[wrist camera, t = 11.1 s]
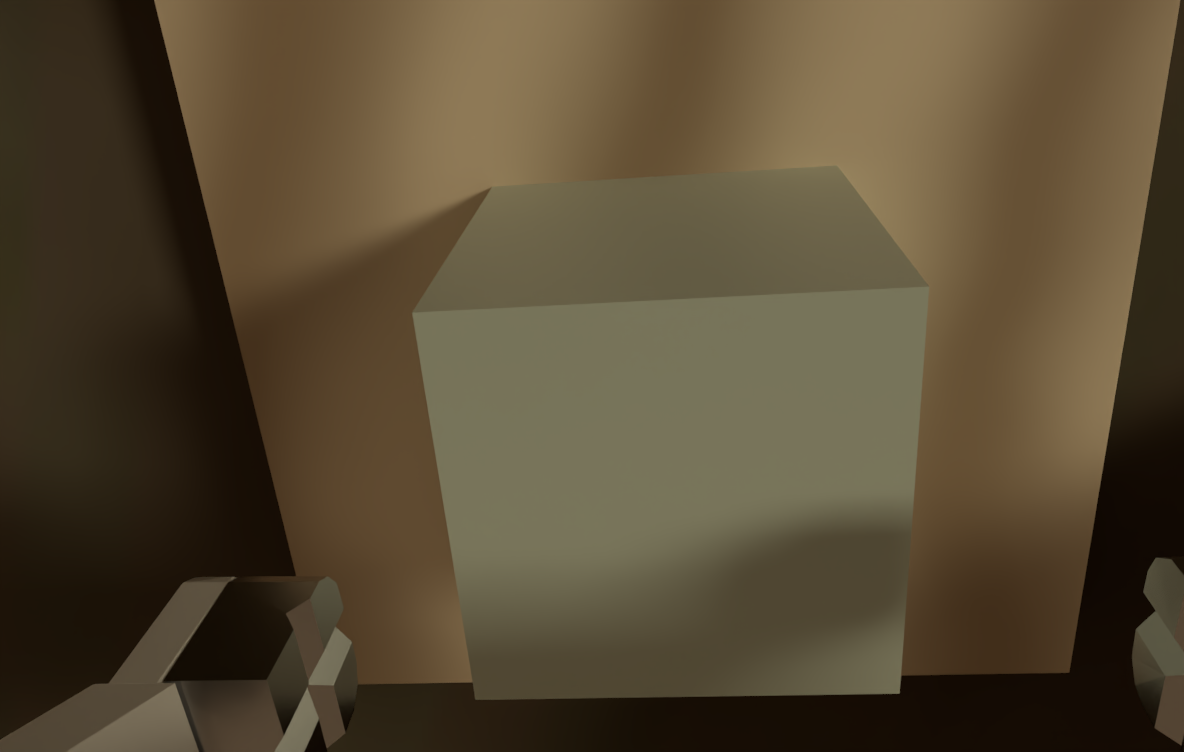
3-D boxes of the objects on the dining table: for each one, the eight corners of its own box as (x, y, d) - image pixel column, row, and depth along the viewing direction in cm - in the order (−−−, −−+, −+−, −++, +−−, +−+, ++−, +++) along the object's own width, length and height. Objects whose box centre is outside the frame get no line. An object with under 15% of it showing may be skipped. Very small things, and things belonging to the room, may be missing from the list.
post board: (1165, -207, 15) (1475, -290, 9) (1043, 625, 21) (1179, 872, 16) (168, -117, 16) (-90, -140, 11) (342, 639, 23) (240, 871, 17)
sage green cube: (837, 165, 16) (928, 286, 11) (828, 468, 18) (899, 693, 13) (492, 186, 17) (412, 313, 11) (527, 478, 19) (475, 699, 14)
